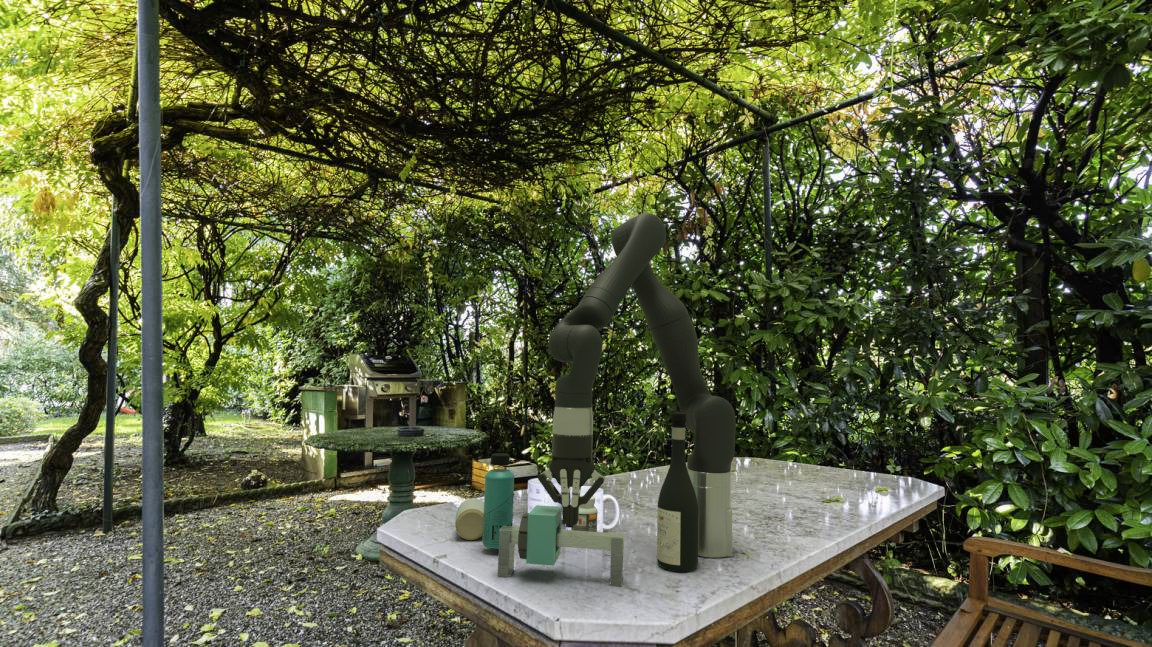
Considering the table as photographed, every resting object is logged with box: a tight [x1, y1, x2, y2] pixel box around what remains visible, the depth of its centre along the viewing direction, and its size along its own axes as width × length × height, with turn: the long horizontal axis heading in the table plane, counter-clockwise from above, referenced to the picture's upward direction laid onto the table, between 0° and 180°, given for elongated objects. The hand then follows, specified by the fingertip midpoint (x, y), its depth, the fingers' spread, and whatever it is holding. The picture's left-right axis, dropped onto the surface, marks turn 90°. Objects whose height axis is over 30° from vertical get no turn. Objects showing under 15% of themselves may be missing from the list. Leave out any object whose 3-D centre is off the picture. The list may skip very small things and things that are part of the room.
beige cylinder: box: [454, 497, 484, 541], centre depth 127 cm, size 11×8×8 cm
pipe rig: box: [497, 525, 625, 587], centre depth 103 cm, size 23×4×8 cm, turn 82°
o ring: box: [517, 512, 530, 560], centre depth 104 cm, size 2×8×8 cm, turn 172°
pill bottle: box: [571, 494, 598, 532], centre depth 125 cm, size 6×6×10 cm
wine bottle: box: [656, 412, 699, 573], centre depth 112 cm, size 8×8×30 cm
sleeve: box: [525, 504, 563, 567], centre depth 104 cm, size 5×7×9 cm
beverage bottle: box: [481, 452, 516, 549], centre depth 118 cm, size 6×7×20 cm
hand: (570, 526), depth 103 cm, fingers closed
